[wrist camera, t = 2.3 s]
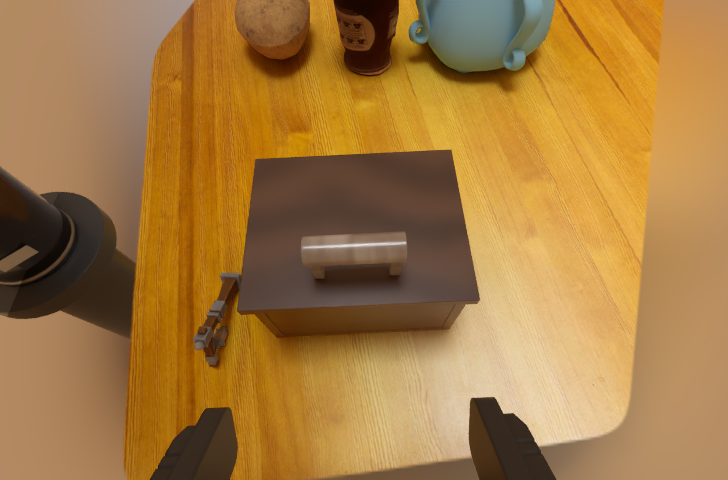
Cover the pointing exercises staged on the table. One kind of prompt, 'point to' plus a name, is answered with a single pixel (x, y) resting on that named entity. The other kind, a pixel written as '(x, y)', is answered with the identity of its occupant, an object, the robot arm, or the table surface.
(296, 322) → the wooden storage box
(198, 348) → the wooden post with brackets
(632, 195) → the table surface
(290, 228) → the lid
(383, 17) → the coffee cup
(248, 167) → the table surface
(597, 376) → the table surface
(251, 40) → the potato
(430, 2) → the decorative pot
